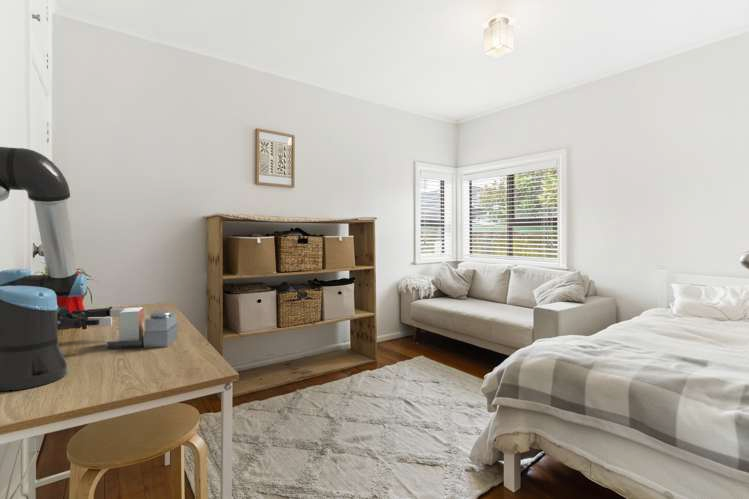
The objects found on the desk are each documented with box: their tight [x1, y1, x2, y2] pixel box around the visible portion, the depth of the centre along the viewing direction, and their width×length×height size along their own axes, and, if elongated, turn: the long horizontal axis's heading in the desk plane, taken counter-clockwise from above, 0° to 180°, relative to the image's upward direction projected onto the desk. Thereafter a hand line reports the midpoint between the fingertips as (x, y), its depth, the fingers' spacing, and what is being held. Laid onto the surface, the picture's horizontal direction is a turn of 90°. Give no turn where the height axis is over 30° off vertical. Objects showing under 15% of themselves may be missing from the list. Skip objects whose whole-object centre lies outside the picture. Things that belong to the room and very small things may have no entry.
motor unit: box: [106, 310, 179, 350], centre depth 128 cm, size 11×18×10 cm, turn 101°
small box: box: [118, 306, 145, 341], centre depth 127 cm, size 8×6×10 cm
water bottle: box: [56, 270, 86, 330], centre depth 150 cm, size 9×11×25 cm
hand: (122, 316), depth 127 cm, fingers open, 13 cm apart
